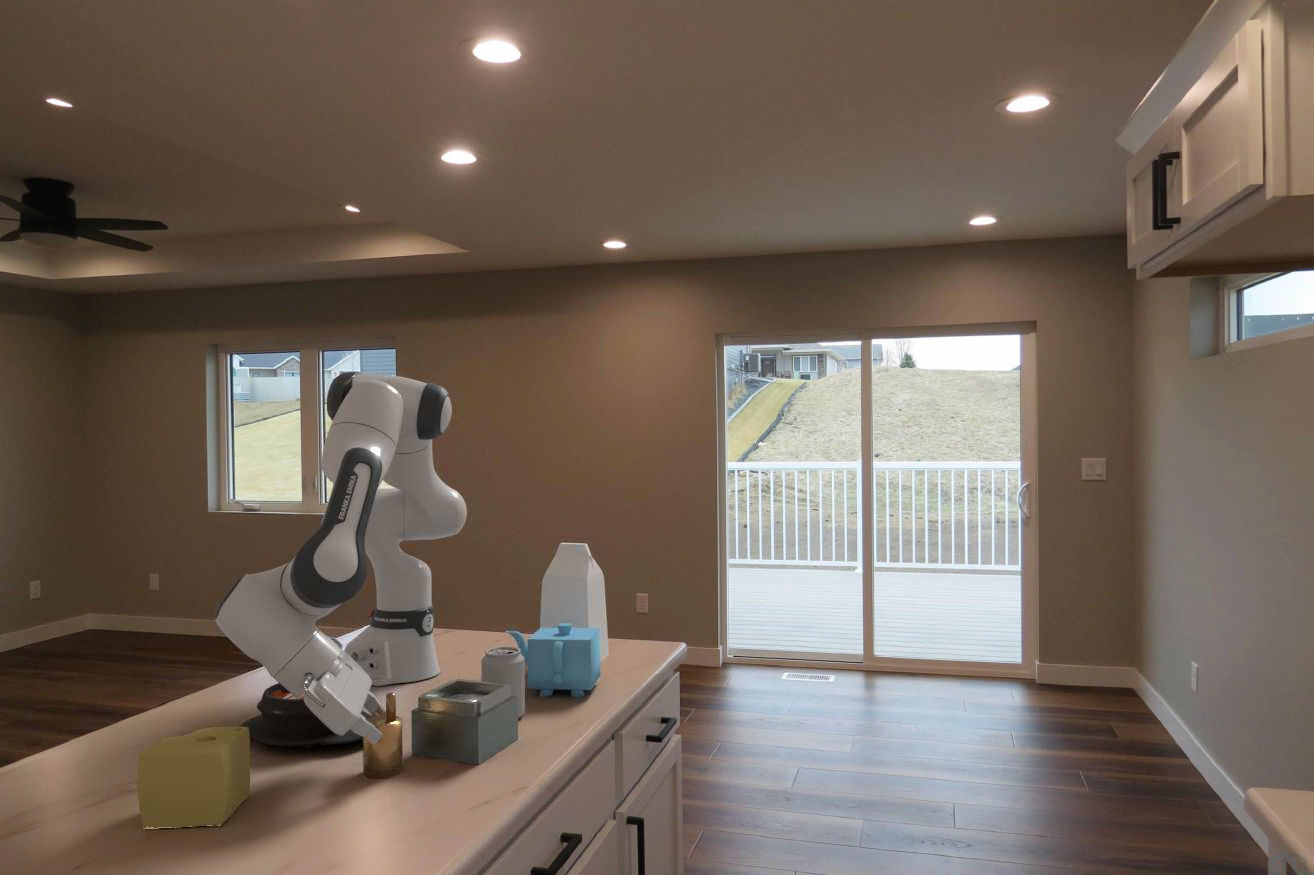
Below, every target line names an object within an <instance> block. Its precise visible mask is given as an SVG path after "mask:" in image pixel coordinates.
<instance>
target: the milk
mask: <svg viewBox="0 0 1314 875" xmlns="http://www.w3.org/2000/svg"><path fill="white" fill-rule="evenodd" d="M605 583H606V582H605V576H604V573H603V570H602V569H601V567H600V566H599V565H598V563H597V561H596V560H595V558H594V557H593V556H592V553H591V550H590V548H589V545H588V543H579V542H578V543H577V542H560V543H559V545H558V547H557V550H556V552H555V556H554V557H553V558H552V561H551V562H550V563H549V566H548V568H547V569H546V571H545V573H544V575H543V578H542V582H541V595H540V597H541V598H540V620H539V621H540V622H539V625H540V626H539V629H540V628H557V625H558V624H561V623H570V624H572V628H600V662H601V661H603V660H604V659H606V657H607V656H609V657H610V653H609V652H610V651H609V649H610V648H609V633H608V619H607V603H606V586H605ZM606 660H607V659H606ZM604 661H605V660H604ZM604 661H603V662H604ZM601 663H602V662H601Z"/></svg>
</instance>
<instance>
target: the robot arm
mask: <svg viewBox="0 0 1314 875" xmlns="http://www.w3.org/2000/svg"><path fill="white" fill-rule="evenodd" d="M326 412H327V416H328V417H329V418H330V420H331V424H330V426H329V430H328V432H327V436H326V438H325V442H324V444H323V450H322V456H321V464H320V468H321V470H322V472H323V474H324V476H325V477H326V478H327V479H328V480H329V481H330V482H331V483H332V489H331V492H330V495H329V498H328V501H327V504H326V507H325V511H324V513H323V517H322V520H321V522H320V526H319V528H318V530H317V531H316V533H314V534H313V535H312V536H311V537H310V538H309V539H308V540H306V542H305V543H304V544H303V545H302V546H301V547H300V549H299V550H298V551H297V554H296V555H295V557H293V559H292V560H291V561H290V562H287V563H284V564H282V565H279V566H277V567H275V568H272V569H269V570H266V571H261V572H257V573H245V574H243V575H242V576H240V577H239V578H237V580H236V581H235V582H234V584H232V586H231V587H230V589H228V591H227V592H226V594H225V595H224V597H223V598H222V599H221V600H220V602H219V603H218V605H217V606H216V609H215V612H214V620H215V622H216V625H217V626H218V628H219V629H220V630H221V631H222V633H223V634H224V635H225V636H226V637H227V638H228V639H229V640H230V641H231V642H232V643H233V644H234V645H235V646H236V647H237V648H238V649H239V650H241V652H243V653H244V654H245V655H246V656H247V657H248V658H250V659H252V660H254V661H257V663H260V664H261V665H262V666H263V667H264V668H265V669H266V671H267V672H268V674H269V676H270V677H271V678H273V679H274V680H275V681H276V682H277V684H278V683H280V684H281V685H282V686H283V687H284V688H285V689H287V690H288V691H289V692H290V693H291V694H292V695H294V696H295V697H296V698H298V697H300V696H301V695H302V694H303V693H304V694H305V697H304V702H305V704H306V706H307V707H308V708H309V709H310V710H311V711H312V712H313V713H314V714H315V715H316V716H317V717H318V718H319V719H320V720H321V721H322V722H323V723H324V724H325V725H326V726H327V727H328V728H329V729H330V730H331V731H332V732H334V733H335V734H338V735H340V736H343V735H344V734H345V733H346V732H347V731H348V730H349V729H350V730H352V731H353V732H354V733H356V734H358V735H360V736H363V737H365V738H366V739H367V740H369V741H370V742H371V743H372V744H375V743H377V742H378V741H379V740H380V739H381V737H382V733H383V732H382V730H381V729H379V728H378V727H377V726H376V725H372V724H371V723H369V722H368V721H367V720H365V719H366V718H365V717H364V716H363V715H362V714H361V712H362V711H363V708H364V709H365V710H366V711H367V713H368V714H370V715H372V717H377V716H385V715H386V707H384V706H383V705H382V704H381V703H380V701H379V700H378V699H377V697H376V695H375V694H373V693H372V692H371V691H370V689H371V687H372V686H375V687H381V686H387V685H392V684H401V683H403V684H404V683H411V682H416V681H417V682H418V681H422V680H427V679H430V678H432V677H436V676H438V675H439V673H441V668H440V665H439V662H438V657H437V653H436V652H437V651H436V648H435V640H434V627H435V610H434V609H435V608H434V607H435V606H434V604H433V603H432V602H433V601H432V600H433V599H432V594H433V593H432V592H433V591H432V583H433V582H432V571H431V568H430V566H429V565H428V564H427V563H426V562H424V561H423V560H421V559H419V558H417V557H415V556H413V555H410V554H407V553H406V552H404V551H403V550H402V548H401V547H400V543H401V542H404V541H423V540H425V541H426V540H439V539H443V538H447V537H452V536H455V535H458V534H459V533H460V532H461V530H462V529H463V528H464V526H465V524H466V521H467V516H468V508H467V505H466V501H465V499H464V498H463V496H462V495H461V493H459V492H458V491H457V490H456V489H454V488H452V487H450V486H449V485H448V484H446V483H445V482H444V481H443V480H441V478H440V477H439V475H438V474H437V471H436V470H435V467H434V459H433V458H434V456H433V440H436V439H438V438H439V437H440V436H442V435H444V433H445V432H446V430H447V428H448V426H449V424H450V422H451V419H452V413H453V407H452V402H451V395H450V393H449V392H448V390H447V389H446V388H445V387H443V386H441V385H439V384H437V383H433V382H423V381H420V380H416V379H413V378H409V377H405V376H398V375H389V374H387V375H385V374H374V373H361V372H360V371H345V372H342V373H339V375H337V376H336V377H334V379H333V380H332V381H331V383H330V385H329V388H328V390H327V395H326ZM382 482H384V483H385V484H387V485H389V486H391V487H392V488H389V487H388V488H380V485H381V484H382ZM367 557H368V558H367ZM367 559H369V560H370V563H371V566H372V569H373V572H374V577H375V578H374V579H375V587H376V588H375V589H376V590H375V591H376V607H375V608H374V609H372V610H370V611H367V612H365V614H367V615H366V616H365V618H367V619H368V618H370V617H371V619H370V622H369V626H367V627H366V628H365V629H364V630H363V631H361V632H360V633H359V634H358V635H356V636H355V637H354V638H353V639H352V640H350V641H349V642H348V643H347V644H346V646H345V648H344V650H343V647H344V644H342V642H340V640H338V639H337V637H334V636H331V637H330V636H328V635H326V634H325V633H324V632H322V630H320V629H319V628H318V627H317V626H316V622H317V621H318V620H320V619H322V618H324V617H326V616H329V614H330V613H332V612H333V611H335V610H336V609H337V608H339V607H340V606H341V605H342V604H344V603H346V602H348V601H349V600H351V599H352V598H353V597H355V596H356V595H357V594H358V593H359V592H360V590H362V587H363V586H364V583H365V581H366V579H367V573H368V561H367Z"/></svg>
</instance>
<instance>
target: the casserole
mask: <svg viewBox="0 0 1314 875" xmlns="http://www.w3.org/2000/svg"><path fill="white" fill-rule="evenodd" d="M304 697H305V694H304V693H303V694H302V695H301V696H300V697H298V698H296V697H295V696H294V695H292V694H291V693H290V692H289V691H288V690H287V689H285V688H284V687H283V686H282V685H281V684H280V683H278V682H277V683H275V684H273V685H270V686H269V687H267V688H266V689H265V690H264V691H263V693H262V695H261V700H260V701H258V703H257V704H256V709H257V711H259V712H260V713H261V714H259V715H257V716H253V717H252V718H249V719H248V720H245V721H244V722H243V723H241V724H240V725H239V726H238V727H248V728H249V736H250V738H251V737H252V739H254V740H256V741H257V742H260V743H262V744H266V745H270V746H277V747H283V748H298V749H300V748H302V749H304V748H305V749H306V748H315V747H321V746H324V745H343V744H345V745H346V744H351V743H355V742H358V741H362V740H363V736H360V735H358V734H356V733H354V732H353V731H352V730H350V729H349V730H348V731H347V732H346V733H345V734H344V735H343V736H340V735H338V734H335V733H334V732H332V731H331V730H330V729H329V728H328V727H327V726H326V725H325V724H324V723H323V722H322V721H321V720H320V719H319V718H318V717H317V716H316V715H315V714H314V713H313V712H312V711H311V710H310V709H309V708H308V707H307V706H306V704H305V702H304ZM361 714H362V715H363V716H364V717H365V718H366V719H365V720H367V719H369V718H373V717H372V715H371V714H370V713H369V712H366V711H364V710H362V712H361Z"/></svg>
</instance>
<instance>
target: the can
mask: <svg viewBox="0 0 1314 875" xmlns="http://www.w3.org/2000/svg"><path fill="white" fill-rule="evenodd" d="M520 652H521V650H520V649H519V648H518V647H515V646H498V647H497V646H495V647H492V648H488V649H486V650H485V651H484V653H485V655H484V656H483V658H482V659H481V660H480V661H481V681H483V682H493V683H502V684H511V696H518V720H519V719H520V718H521V717H522V716H523V715H524V714H525V712H526V702H525V701H526V696H525V694H526V693H525V692H526V690H525V689H526V687H525V686H526V685H525V683H526V682H525V680H526V678H525V675H526V674H525V672H526V671H525V669H526V668H525V667H526V664H525V663H524V657H523V656H522V655H521V654H520Z"/></svg>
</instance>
